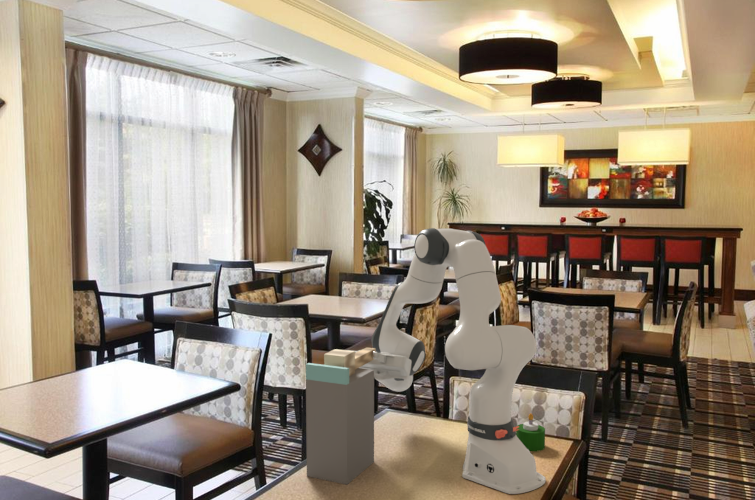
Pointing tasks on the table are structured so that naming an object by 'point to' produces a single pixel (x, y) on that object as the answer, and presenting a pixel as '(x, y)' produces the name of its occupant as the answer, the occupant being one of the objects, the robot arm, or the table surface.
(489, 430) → the robot arm
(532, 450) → the candle
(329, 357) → the mallet
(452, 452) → the table surface
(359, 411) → the pedestal
